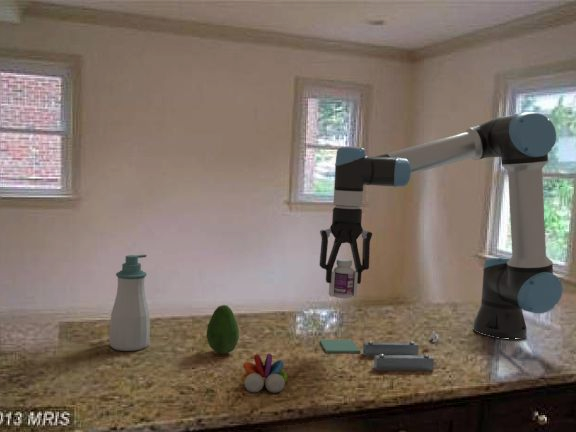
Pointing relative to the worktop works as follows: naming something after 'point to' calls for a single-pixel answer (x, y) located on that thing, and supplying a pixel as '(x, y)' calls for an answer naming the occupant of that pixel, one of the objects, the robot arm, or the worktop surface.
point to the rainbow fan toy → (264, 375)
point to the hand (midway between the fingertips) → (342, 295)
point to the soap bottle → (130, 309)
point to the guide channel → (397, 356)
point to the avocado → (223, 330)
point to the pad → (339, 346)
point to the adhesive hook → (434, 337)
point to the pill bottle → (343, 279)
